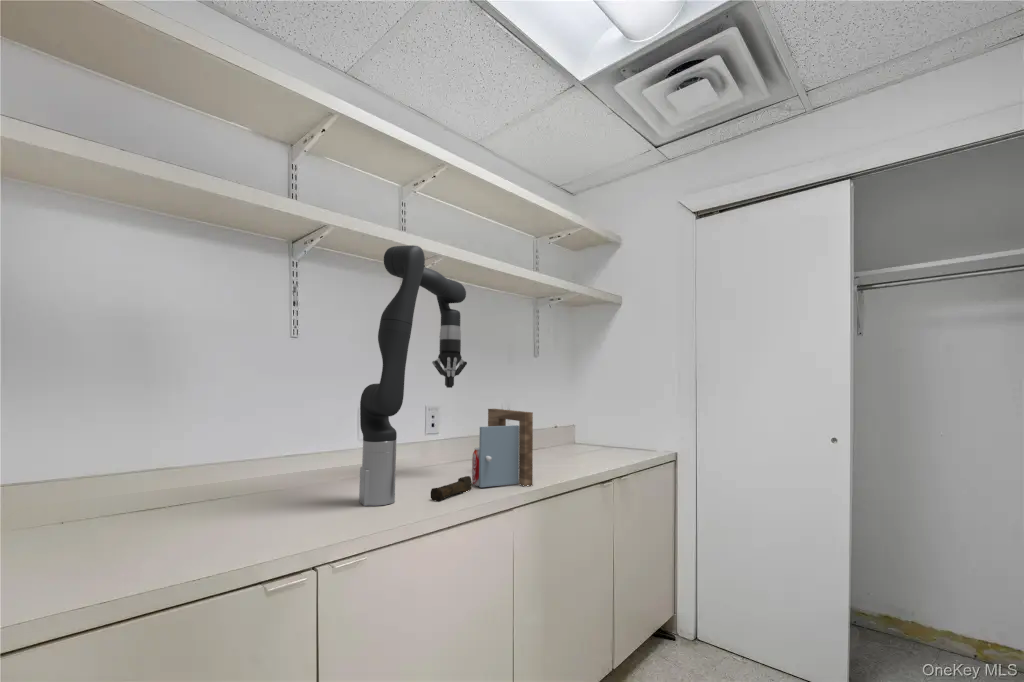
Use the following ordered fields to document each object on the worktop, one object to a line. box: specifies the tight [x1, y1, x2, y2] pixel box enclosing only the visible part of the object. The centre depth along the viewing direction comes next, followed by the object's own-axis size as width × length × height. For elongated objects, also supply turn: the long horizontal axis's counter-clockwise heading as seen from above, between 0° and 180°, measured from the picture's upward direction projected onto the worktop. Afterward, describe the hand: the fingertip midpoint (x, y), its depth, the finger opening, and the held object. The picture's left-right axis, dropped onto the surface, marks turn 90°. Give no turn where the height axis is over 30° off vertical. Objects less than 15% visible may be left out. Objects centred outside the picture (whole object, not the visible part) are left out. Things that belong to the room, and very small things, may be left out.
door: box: [478, 424, 519, 488], centre depth 162 cm, size 14×3×19 cm, turn 119°
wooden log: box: [430, 475, 473, 502], centre depth 149 cm, size 19×4×5 cm, turn 150°
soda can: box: [471, 447, 479, 487], centre depth 164 cm, size 7×7×12 cm
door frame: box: [487, 408, 534, 487], centre depth 175 cm, size 3×27×24 cm, turn 29°
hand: (449, 387), depth 176 cm, fingers closed
